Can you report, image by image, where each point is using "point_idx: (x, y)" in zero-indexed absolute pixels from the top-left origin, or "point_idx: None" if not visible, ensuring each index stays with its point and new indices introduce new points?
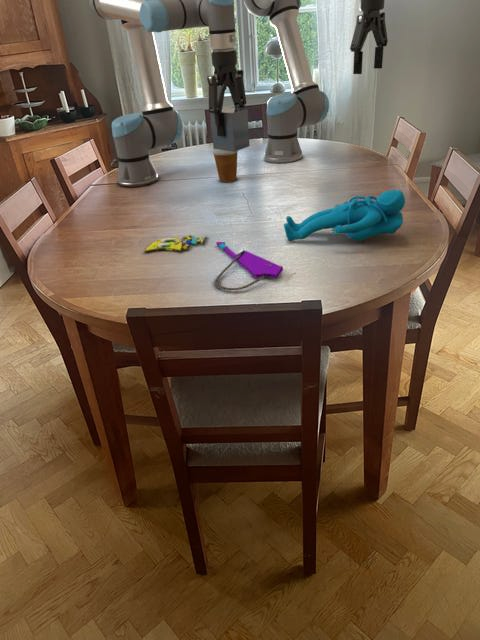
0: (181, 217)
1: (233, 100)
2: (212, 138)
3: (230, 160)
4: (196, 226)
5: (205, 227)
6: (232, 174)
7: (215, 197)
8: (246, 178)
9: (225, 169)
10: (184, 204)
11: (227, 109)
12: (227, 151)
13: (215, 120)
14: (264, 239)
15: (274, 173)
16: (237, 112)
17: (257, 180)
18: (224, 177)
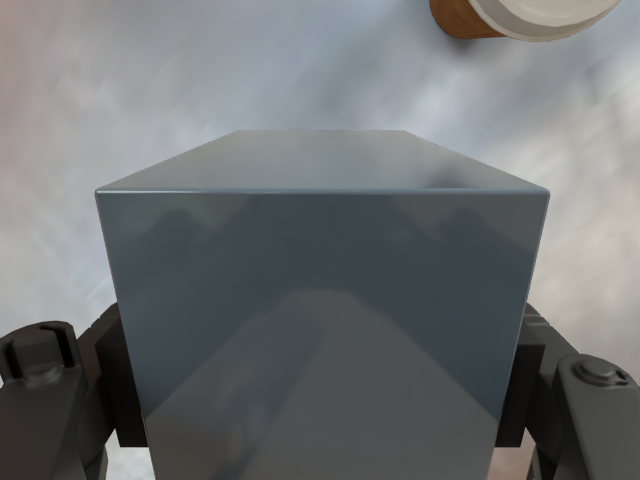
0: (35, 159)
1: (579, 471)
2: (219, 138)
3: (484, 28)
4: (30, 262)
5: (47, 289)
6: (465, 36)
7: (255, 119)
8: (522, 64)
9: (447, 9)
10: (122, 58)
11: (344, 378)
12: (492, 12)
13: (93, 330)
14: (108, 448)
15: (624, 139)
16: None
17: (510, 133)
18: (436, 4)
